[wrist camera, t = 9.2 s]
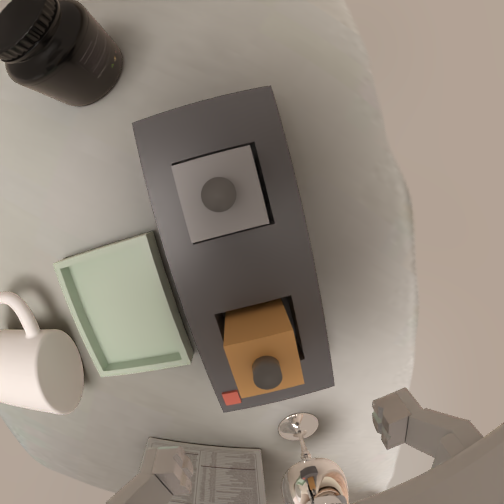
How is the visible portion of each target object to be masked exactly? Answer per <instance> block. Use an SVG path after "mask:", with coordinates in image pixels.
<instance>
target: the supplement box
mask: <svg viewBox="0 0 504 504" xmlns="http://www.w3.org/2000/svg"><path fill="white" fill-rule="evenodd" d="M171 446H182V448H183V449H184V450H185V452H184V454H185V455H187V456H189V458H190V459H191V462H192V464H193V476H192V477H191V478H190V480H191V482H192V491H191V494H187V495H173V497H172V499H171V500H170V501H169V503H168V504H267V501H266V492H265V483H264V474H263V464H262V455H261V449H245V448H228V447H216V446H206V445H197V444H189V443H181V442H174V441H168V440H162V439H156V438H151V437H149V438H148V442H147V445H146V448H145V452H144V455H143V459H142V462H141V466H140V469H139V473H138V474H140V473H141V469H142V465H143V462H144V458H145V454H146V450H147V449H148V448H149V447H171Z"/></svg>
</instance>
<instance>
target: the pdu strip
mask: <svg viewBox="0 0 504 504" xmlns="http://www.w3.org/2000/svg"><path fill="white" fill-rule="evenodd" d="M132 125H133V130H134V135H135V139H136V144H137V148H138V153H139V157H140V162H141V166H142V170H143V174H144V178H145V182H146V186H147V190H148V194H149V198H150V202H151V206H152V209H153V213H154V217H155V220H156V224H157V227H158V231H159V234H160V238H161V241H162V245H163V248H164V251H165V255H166V258H167V261H168V264H169V267H170V271H171V274H172V277H173V280H174V283H175V286H176V289H177V292H178V295H179V298H180V301H181V304H182V307H183V310H184V313H185V316H186V318H187V321H188V324H189V327H190V330H191V332H192V335H193V338H194V340H195V343H196V346H197V348H198V351H199V354H200V356H201V359H202V361H203V364H204V366H205V369H206V372H207V374H208V377H209V379H210V381H211V384H212V386H213V389H214V391H215V394H216V396H217V398H218V401H219V403H220V405H221V408H222V410H223V412H230V411H235V410H241V409H246V408H251V407H255V406H260V405H265V404H269V403H273V402H278V401H282V400H286V399H290V398H294V397H297V396H301V395H305V394H308V393H312V392H316V391H319V390H322V389H326V388H329V387H332V386H335V385H334V377H333V370H332V363H331V356H330V350H329V343H328V337H327V331H326V325H325V319H324V313H323V307H322V302H321V296H320V291H319V285H318V280H317V275H316V269H315V264H314V259H313V254H312V249H311V244H310V240H309V235H308V230H307V226H306V221H305V216H304V212H303V208H302V203H301V199H300V194H299V190H298V186H297V182H296V178H295V173H294V169H293V165H292V161H291V157H290V153H289V149H288V146H287V142H286V138H285V134H284V130H283V127H282V123H281V119H280V116H279V112H278V108H277V105H276V101H275V98H274V94H273V91H272V87H271V85H270V86H265V87H260V88H254V89H250V90H245V91H240V92H236V93H231V94H227V95H223V96H219V97H215V98H211V99H207V100H203V101H199V102H196V103H192V104H189V105H185V106H182V107H179V108H175V109H172V110H169V111H166V112H163V113H160V114H156V115H154V116H151V117H148V118H145V119H142V120H139V121H136V122H134V123H132ZM248 145H250V147H251V151H252V155H253V159H254V163H255V167H256V171H257V175H258V179H259V183H260V187H261V191H262V195H263V199H264V203H265V207H266V211H267V215H268V219H269V224H265V225H261V226H257V227H253V228H249V229H245V230H241V231H237V232H233V233H229V234H225V235H221V236H218V237H214V238H210V239H206V240H202V241H199V242H195V243H191V239H190V236H189V232H188V228H187V225H186V221H185V218H184V214H183V210H182V206H181V203H180V199H179V195H178V191H177V187H176V184H175V180H174V176H173V172H172V168H171V166H174V165H177V164H180V163H184V162H187V161H190V160H194V159H197V158H201V157H205V156H208V155H212V154H216V153H220V152H223V151H227V150H231V149H235V148H239V147H244V146H248ZM279 298H281V300H282V303H283V305H284V308H285V310H286V313H287V315H288V318H289V320H290V323H291V325H292V328H293V331H294V335H295V340H296V345H297V350H298V354H299V359H300V364H301V369H302V374H303V379H304V383H305V384H302V385H298V386H294V387H290V388H286V389H282V390H278V391H274V392H269V393H265V394H261V395H256V396H251V397H246V398H241V396H240V393H239V390H238V388H237V385H236V382H235V379H234V376H233V374H232V371H231V368H230V365H229V362H228V359H227V356H226V353H225V350H224V347H223V343H224V328H225V314H226V311H231V310H235V309H239V308H243V307H247V306H251V305H255V304H259V303H263V302H267V301H271V300H275V299H279Z"/></svg>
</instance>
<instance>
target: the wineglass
mask: <svg viewBox="0 0 504 504" xmlns="http://www.w3.org/2000/svg"><path fill="white" fill-rule="evenodd" d="M318 425H319V422H318V419H317V418H316V417H315V416H314V415H312V414H309V413H297V414H293V415H291V416H288V417H287V418H285V419H284V420H283V421H282V422H281V423H280V424H279V427H278V432H279V434H280V436H281V437H283V438H285V439H287V440H300V444H301V459H302V461H300V462H298V463H296V464H294V465H293V466H291V467H290V468H289V469H288V470H287V472H286V473H285V475H284V476H283V479H282V485H281V491H282V497H283V500H284V503H285V504H349V492H348V485H347V481H346V477H345V475H344V473H343V471H342V469H341V468H340V467H339V465H338V464H337V463H335V462H334V461H332V460H329V459H326V458H311V454H310V452H309V451H308V449H307V448H306V445H305V441H304V438H307V437H309V436H310V435H312V434H313V433H314V432H315V431H316V430H317V428H318Z"/></svg>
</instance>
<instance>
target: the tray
mask: <svg viewBox="0 0 504 504" xmlns="http://www.w3.org/2000/svg"><path fill="white" fill-rule="evenodd" d="M53 266H54V269H55V272H56V275H57V278H58V280H59V283H60V286H61V289H62V292H63V294H64V297H65V299H66V302H67V305H68V307H69V310H70V312H71V315H72V317H73V319H74V322H75V324H76V326H77V329H78V331H79V333H80V335H81V338H82V340H83V342H84V344H85V346H86V348H87V350H88V352H89V355H90V357H91V359H92V361H93V363H94V365H95V367H96V368H97V370H98V372H99V374H100V376H101V377H108V376H116V375H125V374H132V373H140V372H147V371H154V370H160V369H166V368H172V367H178V366H184V365H189V364H191V362H192V358H193V354H194V351H193V349H192V346H191V344H190V341H189V338H188V336H187V333H186V330H185V328H184V325H183V322H182V319H181V316H180V314H179V311H178V308H177V305H176V302H175V299H174V296H173V293H172V291H171V288H170V285H169V281H168V278H167V275H166V272H165V269H164V266H163V263H162V260H161V256H160V253H159V250H158V246H157V243H156V240H155V236H154V233H153V231H150V232H147V233H143V234H140V235H137V236H133V237H130V238H127V239H124V240H120V241H117V242H114V243H111V244H107V245H104V246H101V247H98V248H95V249H92V250H88V251H85V252H82V253H79V254H76V255H73V256H70V257H67V258H64V259H62V260H60V261H58V262H56V263H54V264H53Z"/></svg>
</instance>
